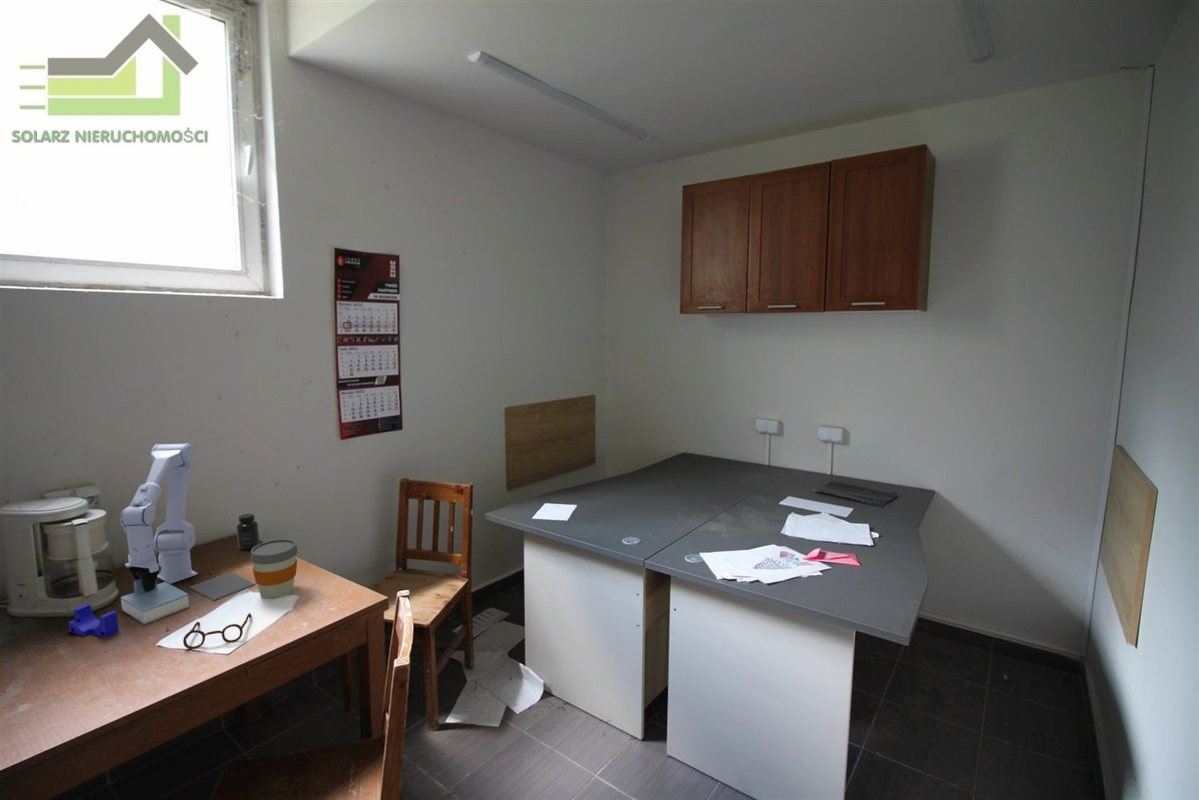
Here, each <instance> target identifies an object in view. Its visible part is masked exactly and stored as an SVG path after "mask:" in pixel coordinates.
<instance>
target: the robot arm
mask: <svg viewBox="0 0 1199 800" xmlns="http://www.w3.org/2000/svg"><path fill="white" fill-rule="evenodd" d="M150 460H151V463H152V465H151V467H150V471H149V473H148V476H147V478H146V481H145V483H143V484H141V485H140V486H138V489H137V490H136V492H135V494H134V496H133V498H132V500H131V502H130V504H129V506H127V507H125V508H124V509H122V511H121V513H120V519H119V523H120V525H121V526H122V527H123V532H124V533H126V538H127V546H128V555H127V561H128V562H126V563H125V564H124V565H125V568H126V569H127V572H129V574H130V575H131V577H132V578H133V581H135V580H138V579H140V580H141V582H142V585H143V589H144V591H145V592H149V591H152V590H154V588H155V584H156V579H161V580H162V581H163V582H166V583H168V584H170V585H172V584H174V583H178V582H180V581H183V580H186V579H188V578H190V577H194V576H197V575H198V572H196V571H194V570H192V562H191V561H192V560H191V552H190V550H191V549H192V548H193V547H194V545H195V542H196V532H195V526H194V524H192V523H190V522H188V521H187V520H186V508H187V507H186V506H187V496H188V495H187V494H188V481H189V480H188V479H189V470H190V469H193V468H194V461H195V449H194V448H193V446H192V444H190V443H188V442H187V443H168V444H167V443H163V444H161V443H157V444H155V445H153V447H152V448H151V451H150ZM168 474H169V475H168ZM167 475H168V487H167V488H168V489H167V499H166V514H165V522H163V523H162V524H160V525H159V526H158V527H157V528H156V531H155V535H154V534H153V525H152V524H153V523H154V521H155V519H156V511H157V506H156V505H157V503H158V501H159V499H160V496H161V494H162V492H163V490H162V488H161V485H162V483H163V481H164V480H165V478H166V477H167ZM155 551H156V552H158V557H157V556H156V555H155V554H156V553H155ZM157 559H158V563H157Z"/></svg>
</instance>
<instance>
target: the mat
mask: <svg viewBox="0 0 1199 800" xmlns="http://www.w3.org/2000/svg"><path fill="white" fill-rule="evenodd" d="M253 586H256V582H253V581H250V580H248V579H246V578H244V577H241V576H239V575H237V574H235V573H232V572H230V571H228V572H226V573H223V574H220V575H218V576H215V577H212V578H210V579H207V580H204V581H201V582H199V583H196V584H194V585H190V586H189V587H188V589H190V590H192V591H194V592H196V593H198V594H200V595H202V596H203V597H205V598H207V599H209V600H211V601H213V602H216V601H218V600H220V599H223V598H225V597H228V596H230V595H232V594H235V593H238V592H241V591H243V590H245V589H247V588H251V587H253Z"/></svg>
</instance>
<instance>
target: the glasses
mask: <svg viewBox="0 0 1199 800" xmlns="http://www.w3.org/2000/svg"><path fill="white" fill-rule="evenodd" d="M249 618H252V613H251V612H249V613H248V614H247V615H246V617H245V620H244V622H243V623H242V625H240V624H237V623H232V624H231V623H230V624H228V625H227V626H225V627H224V628H223V629H222V630H213V631H208V632H206V633H205V632H204V631H202V630H199V629H196V628H197V627H198V626H199V627H200V625H201V623H200V622H199V621H196V622H195V624H194V625H193V626H192V628H191V629H190V630H189V632H187V633H186V634H185V635H184V637H183V639H182V640H183V642H182V643H183V645H184V647H185V648H187V649H189V650H195V649H199V648H201V647H202V646H203V645H204V643H205V640H206V636H208V635H214V634H215V635H216V634H221V639H222V640H223V642H225V643H230V644H232V643H235V642H237V641H239V640H240V639H241V638H242V636H243V632H244V631H243V628H244V627H245V626H246V624H247V623H248V621H249ZM231 627H235V628H238V630H239V636H238V637H237V638H235V639H228V638H226V635H225V633H226V630H228V629H229V628H231ZM194 633H195V634H197V633H198V634H200V635H201V637H202V639H201V643H200V644H198V645H195V646H192V645H189V644H188V643H187V639H188V638H189V636H191V635H192V634H194ZM231 642H232V643H231Z"/></svg>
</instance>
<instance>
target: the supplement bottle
mask: <svg viewBox="0 0 1199 800" xmlns="http://www.w3.org/2000/svg"><path fill="white" fill-rule="evenodd" d="M238 522H239V523H238V524H237V525H236V527H235V528H236V538H237V547H238V549H239V550H241V549H242V550H241V551H247V550H252V548H253V547H255V546H256V545H258V544H261V543H260V534H259V533H260V532H259V523H258V522H257V521H256V520H255V514H254V513H246V514H245V513H244V514H241V515H239V516H238Z"/></svg>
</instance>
